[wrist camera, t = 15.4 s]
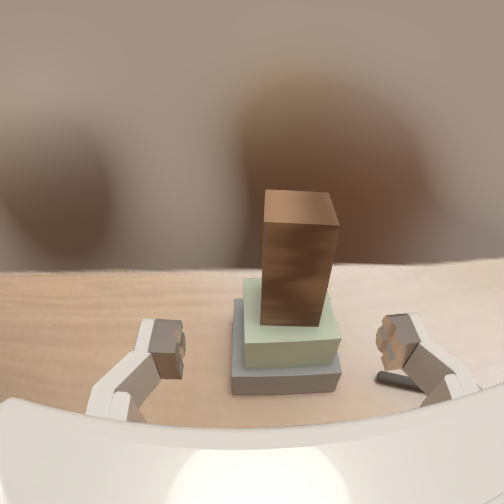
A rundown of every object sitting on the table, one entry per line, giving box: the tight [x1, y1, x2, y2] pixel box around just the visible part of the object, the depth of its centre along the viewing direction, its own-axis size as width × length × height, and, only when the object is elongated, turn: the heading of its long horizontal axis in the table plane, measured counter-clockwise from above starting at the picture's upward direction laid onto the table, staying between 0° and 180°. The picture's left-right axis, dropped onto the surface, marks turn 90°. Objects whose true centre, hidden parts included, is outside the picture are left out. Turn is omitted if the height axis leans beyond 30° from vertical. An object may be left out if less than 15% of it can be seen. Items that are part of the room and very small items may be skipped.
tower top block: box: [243, 278, 341, 370], centre depth 30 cm, size 8×8×4 cm
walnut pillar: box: [260, 190, 340, 327], centre depth 26 cm, size 5×5×10 cm
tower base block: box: [231, 299, 342, 395], centre depth 32 cm, size 10×10×4 cm
